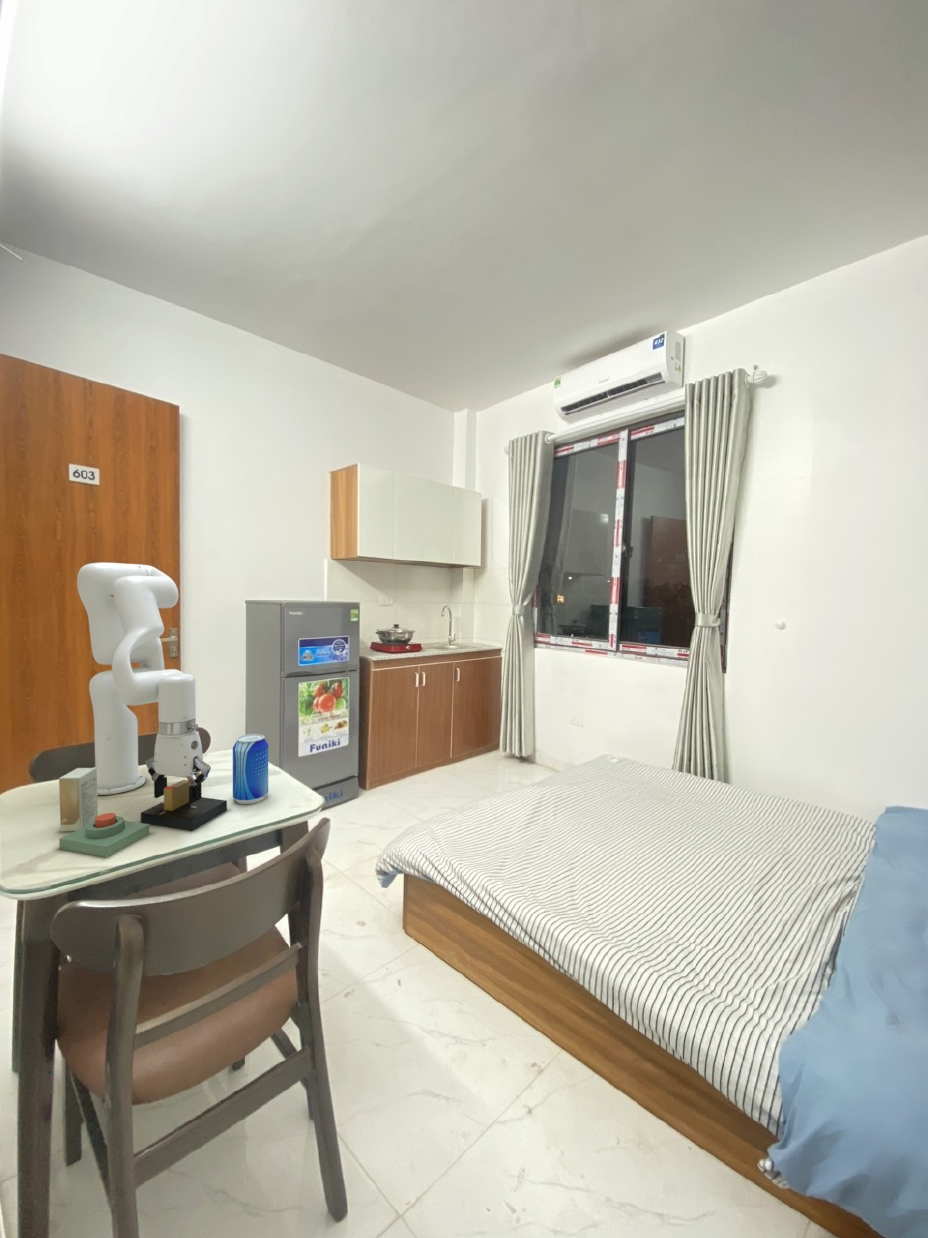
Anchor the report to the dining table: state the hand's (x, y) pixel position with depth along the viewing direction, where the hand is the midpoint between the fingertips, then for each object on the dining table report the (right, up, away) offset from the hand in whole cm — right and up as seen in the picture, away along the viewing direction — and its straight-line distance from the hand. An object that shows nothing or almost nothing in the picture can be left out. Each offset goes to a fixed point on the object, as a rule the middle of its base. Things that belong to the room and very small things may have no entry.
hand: (177, 798), depth 117 cm
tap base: (+2, -4, 0) cm, 5 cm away
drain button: (-8, -1, -12) cm, 15 cm away
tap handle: (0, -2, 0) cm, 2 cm away
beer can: (+13, -4, +11) cm, 17 cm away
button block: (-8, -5, -12) cm, 15 cm away
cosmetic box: (-19, -4, -6) cm, 20 cm away
